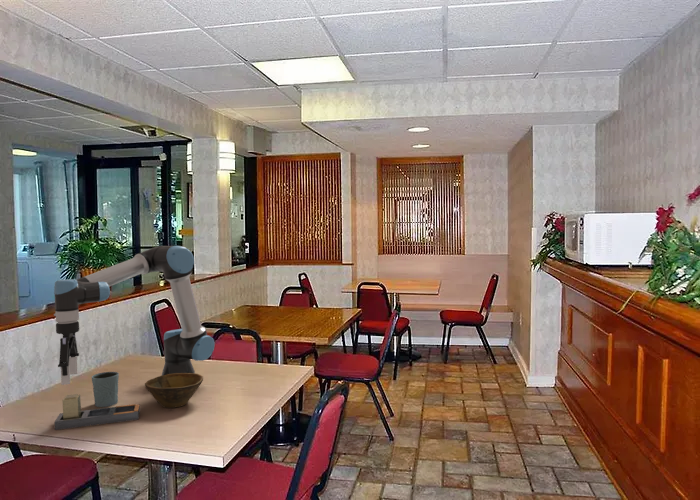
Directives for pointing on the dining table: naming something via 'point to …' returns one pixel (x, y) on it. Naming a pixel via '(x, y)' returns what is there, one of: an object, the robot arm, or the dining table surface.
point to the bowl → (174, 388)
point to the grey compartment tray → (100, 416)
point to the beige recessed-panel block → (71, 407)
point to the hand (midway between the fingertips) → (69, 379)
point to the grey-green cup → (105, 388)
